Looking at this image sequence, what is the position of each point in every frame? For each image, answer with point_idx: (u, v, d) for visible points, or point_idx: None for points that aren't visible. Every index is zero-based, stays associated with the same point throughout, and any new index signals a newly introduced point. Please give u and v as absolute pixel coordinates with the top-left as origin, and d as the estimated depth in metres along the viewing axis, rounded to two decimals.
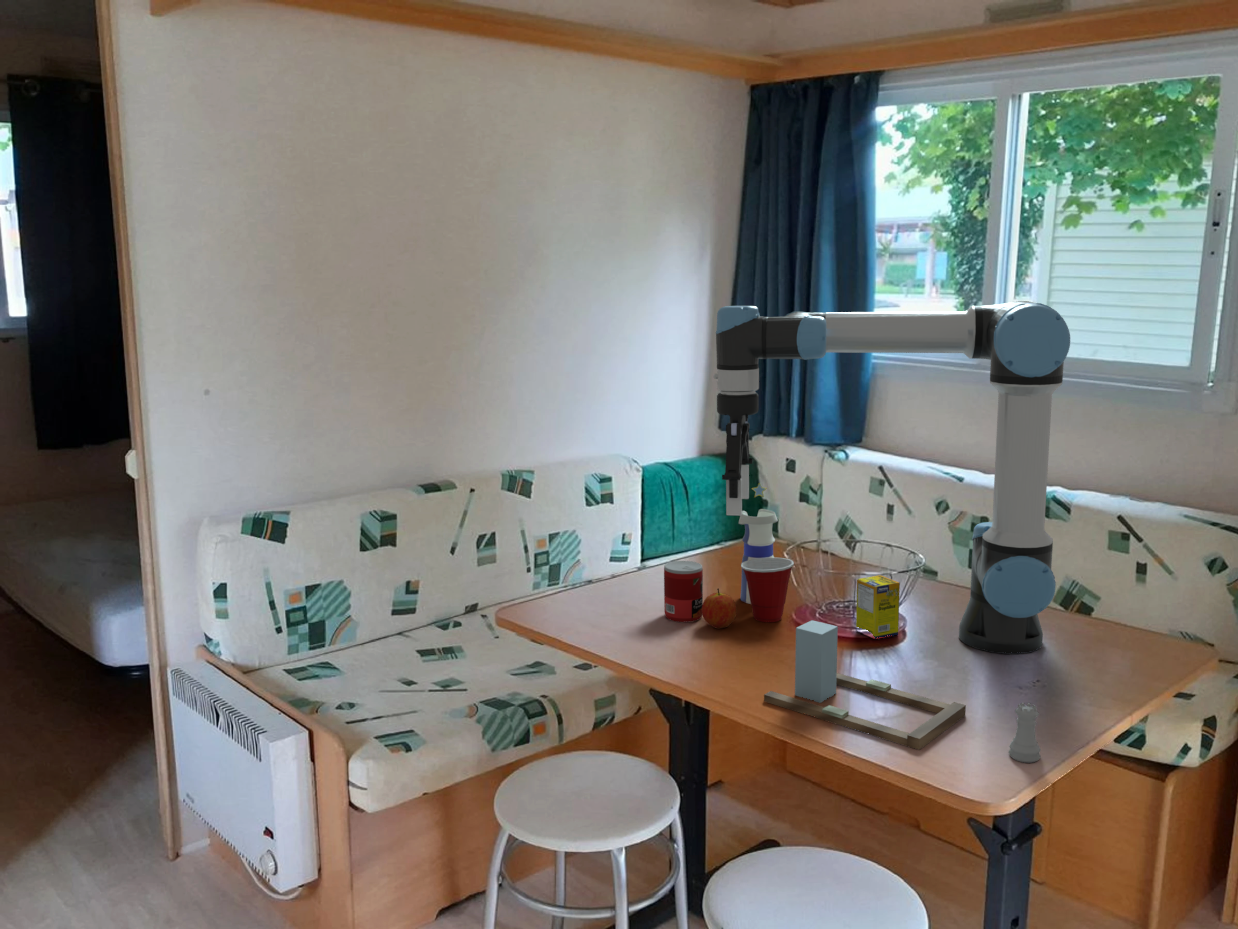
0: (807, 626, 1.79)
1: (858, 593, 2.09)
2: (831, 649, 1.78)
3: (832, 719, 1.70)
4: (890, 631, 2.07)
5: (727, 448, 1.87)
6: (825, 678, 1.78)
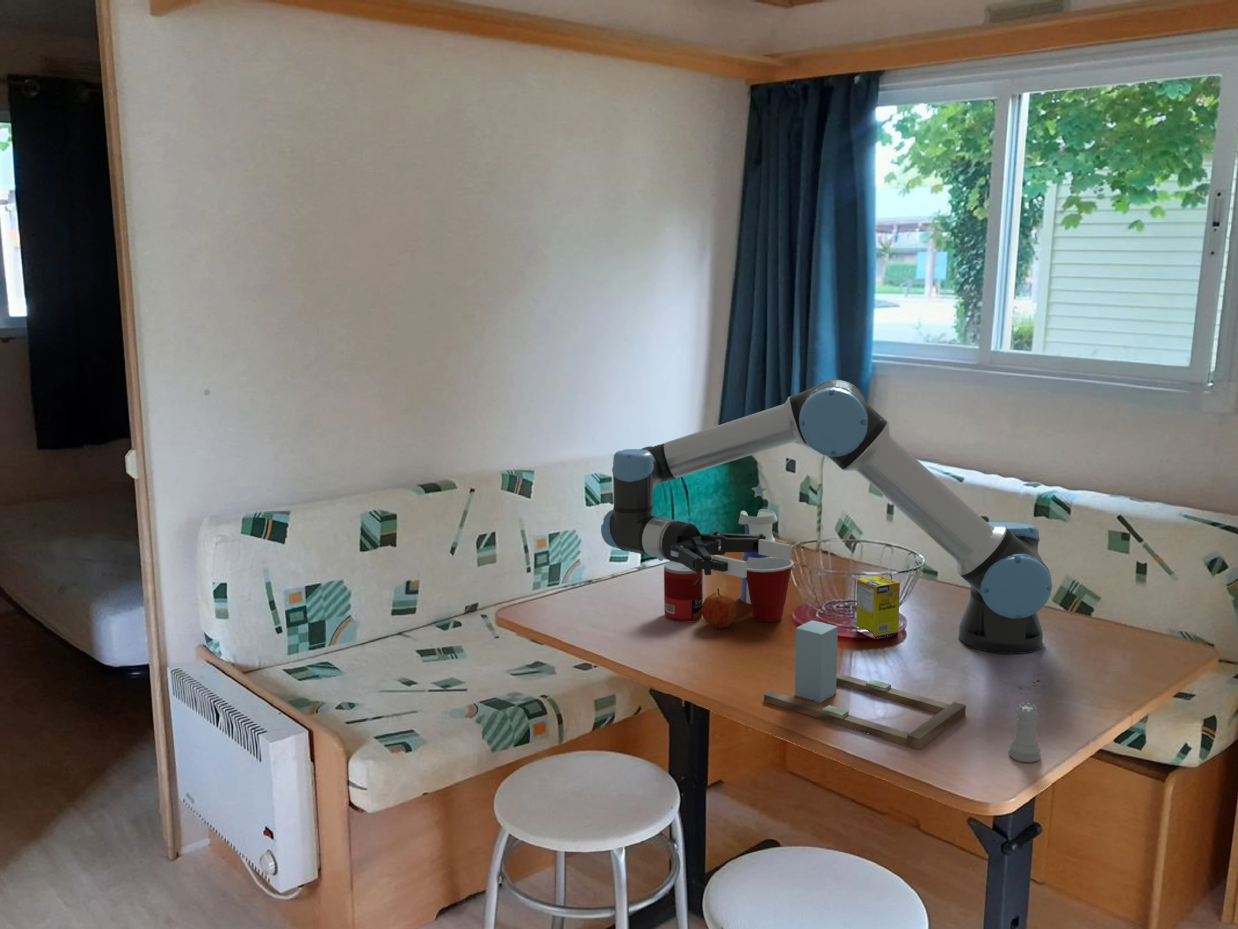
0: (807, 626, 1.79)
1: (858, 593, 2.09)
2: (831, 648, 1.78)
3: (832, 719, 1.70)
4: (890, 631, 2.07)
5: (683, 563, 1.86)
6: (825, 678, 1.78)
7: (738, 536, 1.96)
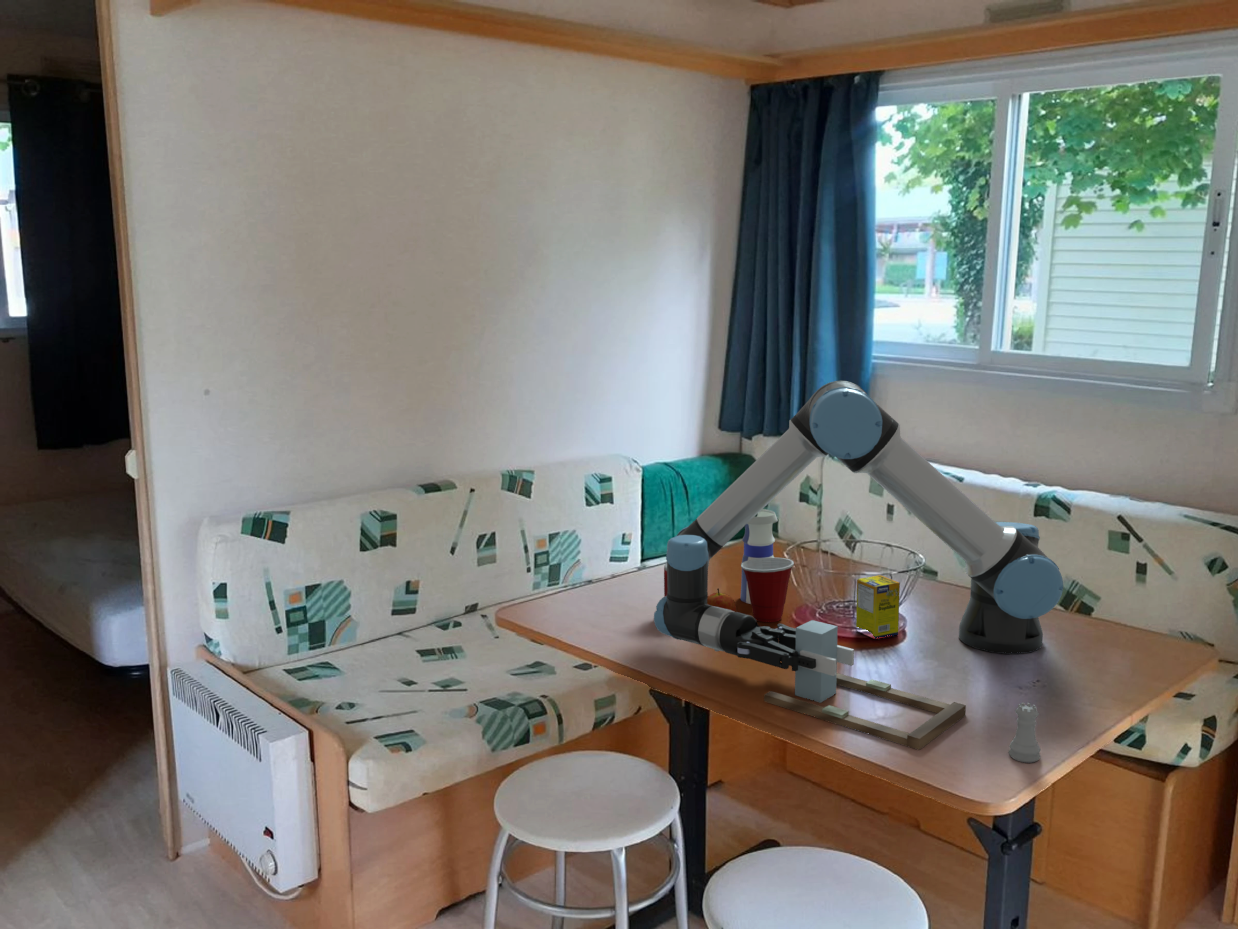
0: (807, 626, 1.79)
1: (858, 593, 2.09)
2: (831, 648, 1.78)
3: (832, 719, 1.70)
4: (890, 631, 2.07)
5: (760, 661, 1.80)
6: (825, 678, 1.78)
7: None
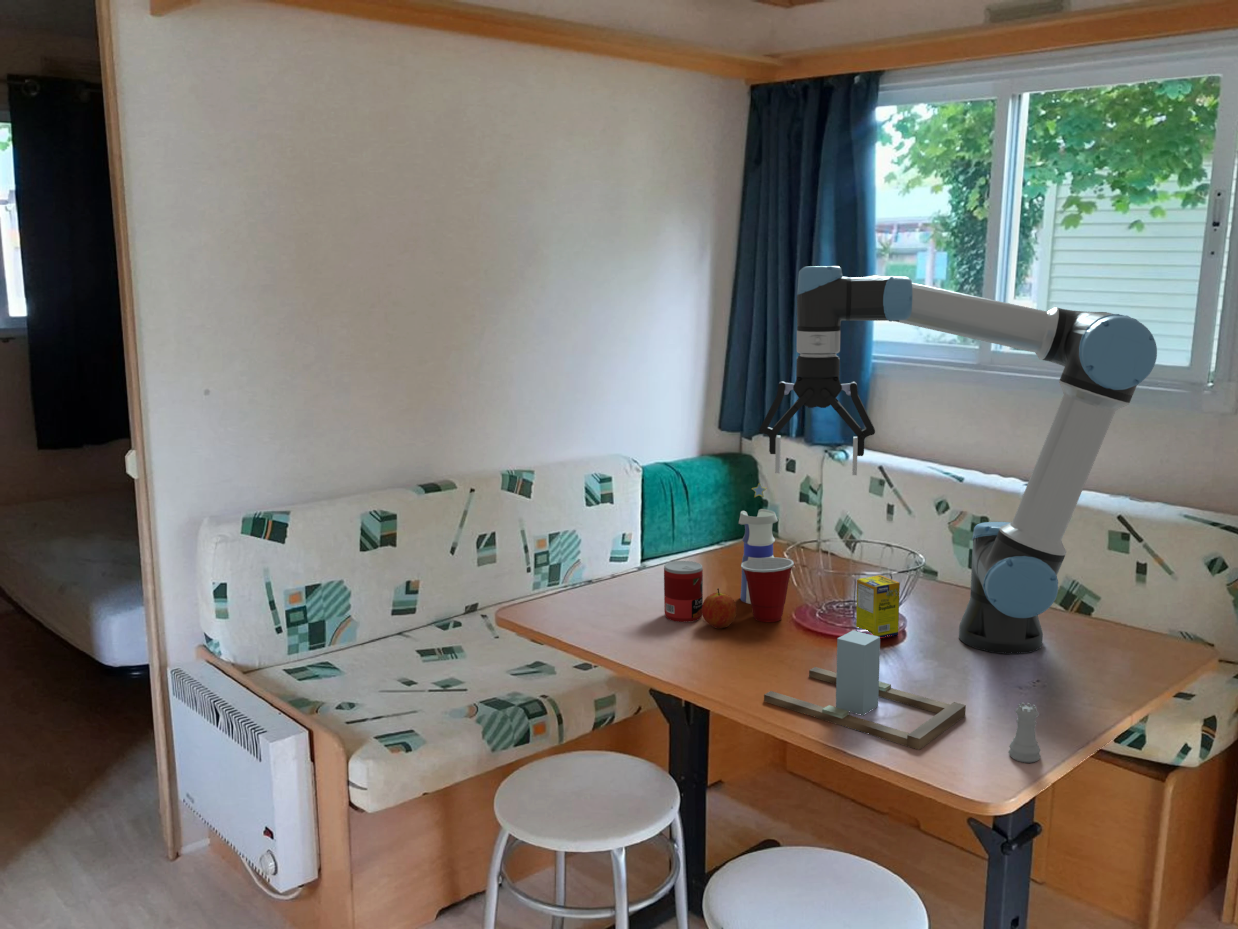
0: (849, 637, 1.74)
1: (858, 593, 2.09)
2: (874, 660, 1.73)
3: (832, 719, 1.70)
4: (890, 631, 2.07)
5: (863, 406, 1.87)
6: (868, 690, 1.73)
7: None
